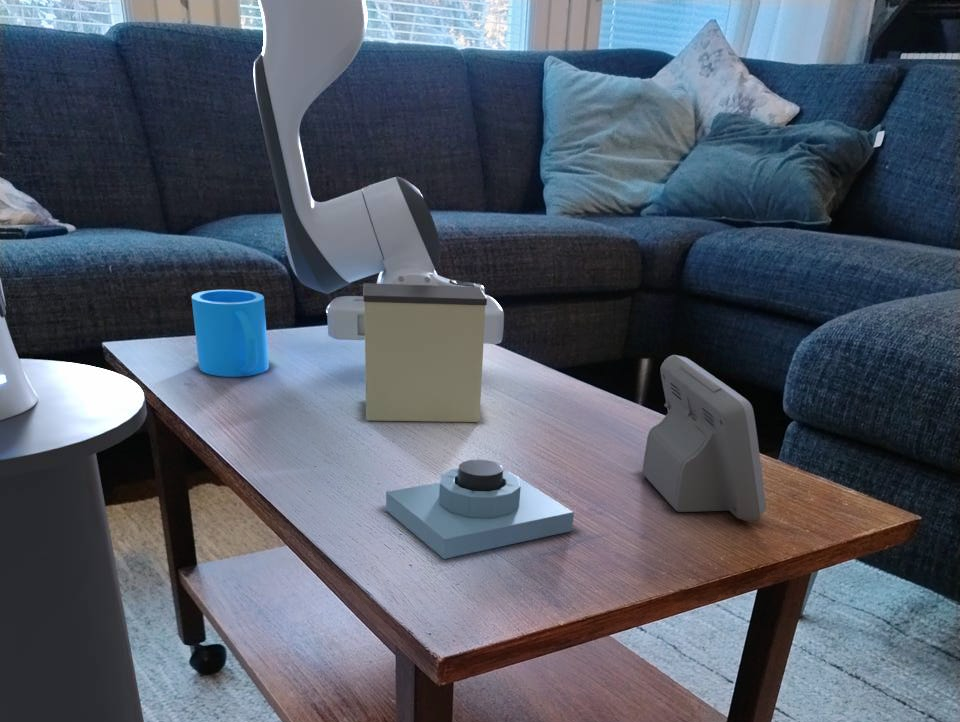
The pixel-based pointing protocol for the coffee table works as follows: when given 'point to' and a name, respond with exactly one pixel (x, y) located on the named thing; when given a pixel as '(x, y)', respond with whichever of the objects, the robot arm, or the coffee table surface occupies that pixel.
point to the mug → (230, 332)
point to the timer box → (477, 514)
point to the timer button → (480, 475)
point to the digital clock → (705, 445)
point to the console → (423, 352)
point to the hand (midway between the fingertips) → (419, 336)
